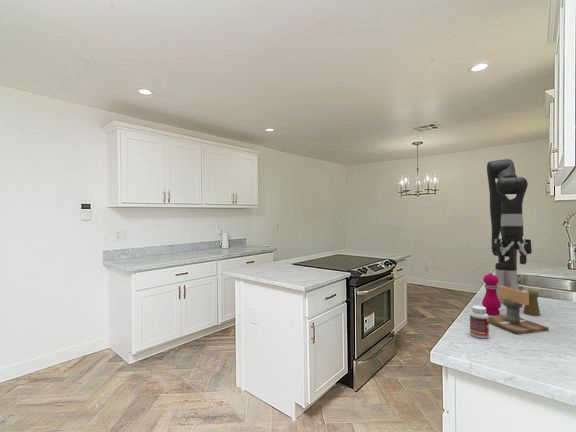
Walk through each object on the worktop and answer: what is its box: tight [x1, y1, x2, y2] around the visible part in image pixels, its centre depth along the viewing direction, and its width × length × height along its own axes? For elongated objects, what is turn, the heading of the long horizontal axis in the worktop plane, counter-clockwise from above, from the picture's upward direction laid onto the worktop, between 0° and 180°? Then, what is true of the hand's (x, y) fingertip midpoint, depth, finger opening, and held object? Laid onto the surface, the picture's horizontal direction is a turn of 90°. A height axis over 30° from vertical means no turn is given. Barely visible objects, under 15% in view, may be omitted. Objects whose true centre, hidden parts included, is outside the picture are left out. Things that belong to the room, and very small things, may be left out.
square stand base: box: [488, 306, 549, 336], centre depth 125 cm, size 16×16×8 cm
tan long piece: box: [498, 286, 529, 309], centre depth 125 cm, size 6×12×8 cm, turn 12°
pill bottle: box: [469, 305, 490, 339], centre depth 115 cm, size 6×6×11 cm
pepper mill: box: [481, 270, 502, 316], centre depth 140 cm, size 7×7×20 cm
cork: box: [523, 289, 541, 317], centre depth 138 cm, size 6×6×11 cm
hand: (512, 264), depth 123 cm, fingers open, 8 cm apart
